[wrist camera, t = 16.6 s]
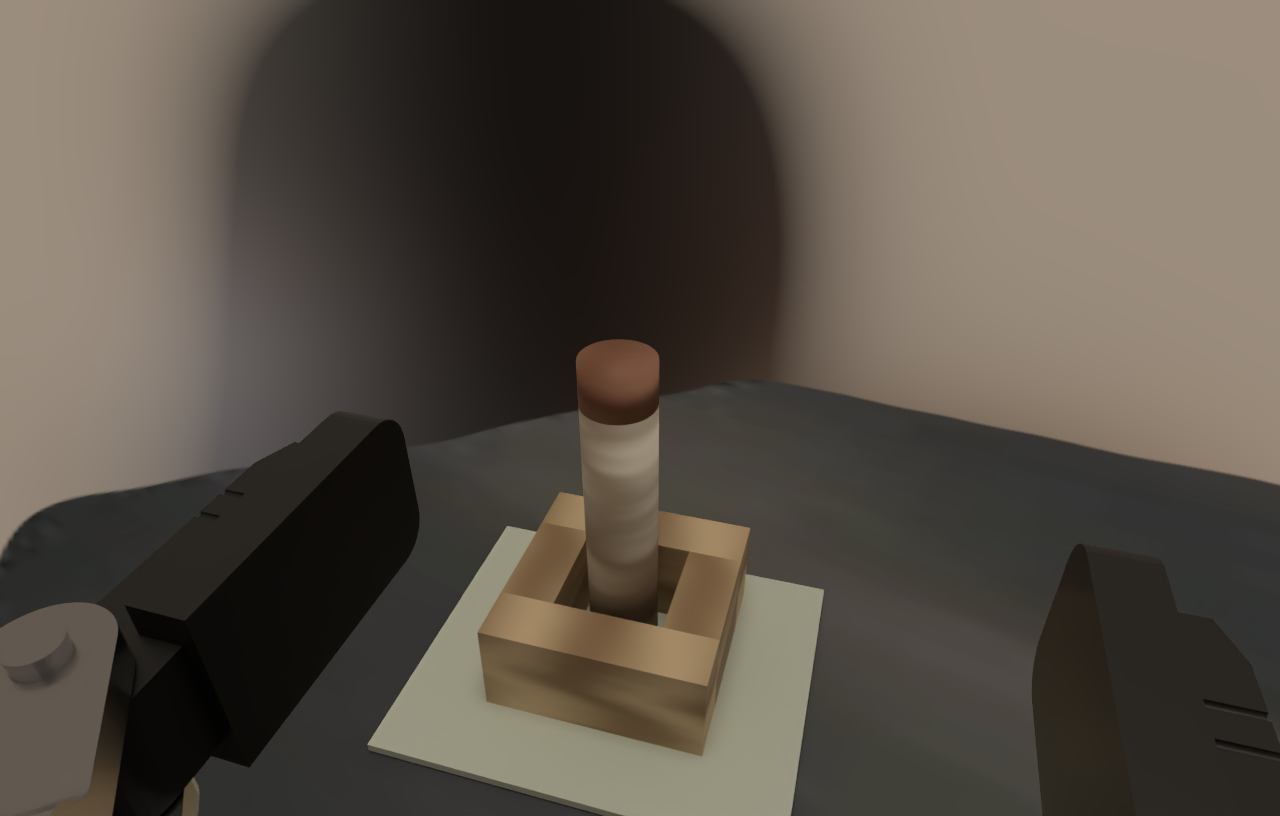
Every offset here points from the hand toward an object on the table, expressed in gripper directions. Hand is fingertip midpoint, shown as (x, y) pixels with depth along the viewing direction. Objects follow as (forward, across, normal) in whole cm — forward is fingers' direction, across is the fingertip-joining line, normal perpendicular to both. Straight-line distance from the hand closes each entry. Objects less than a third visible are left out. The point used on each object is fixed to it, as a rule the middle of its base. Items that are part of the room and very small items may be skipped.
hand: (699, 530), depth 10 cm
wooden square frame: (+19, +8, +26) cm, 33 cm away
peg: (+19, +8, +26) cm, 33 cm away
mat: (+18, +8, +26) cm, 33 cm away
